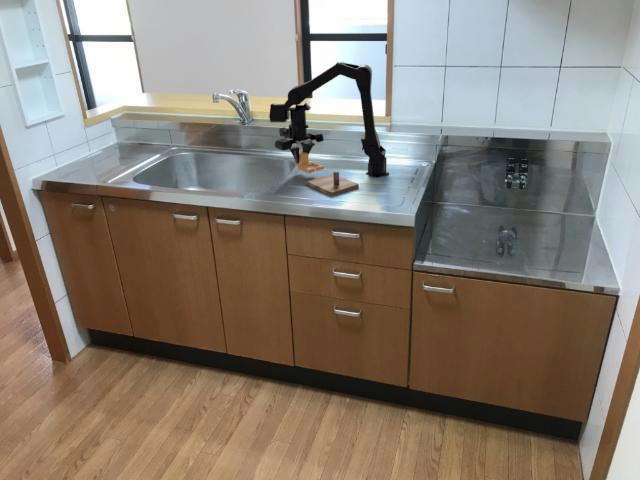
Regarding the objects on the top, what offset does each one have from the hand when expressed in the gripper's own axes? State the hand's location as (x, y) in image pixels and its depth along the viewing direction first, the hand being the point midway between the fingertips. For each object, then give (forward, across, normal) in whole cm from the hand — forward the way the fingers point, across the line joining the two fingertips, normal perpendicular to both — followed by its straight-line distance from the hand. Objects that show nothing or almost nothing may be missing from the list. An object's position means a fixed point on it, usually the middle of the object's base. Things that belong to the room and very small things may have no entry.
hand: (301, 162), depth 198 cm
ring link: (+1, 0, +4) cm, 4 cm away
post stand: (+4, 0, +20) cm, 20 cm away
